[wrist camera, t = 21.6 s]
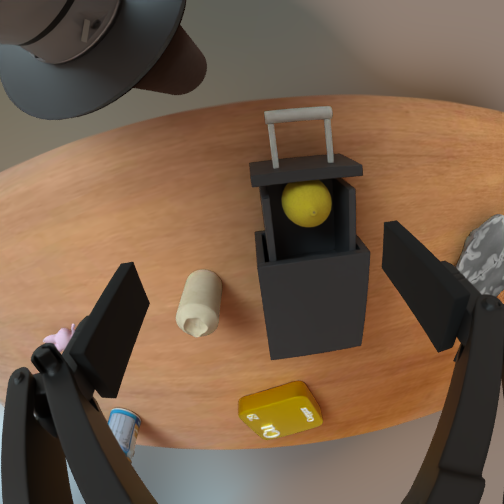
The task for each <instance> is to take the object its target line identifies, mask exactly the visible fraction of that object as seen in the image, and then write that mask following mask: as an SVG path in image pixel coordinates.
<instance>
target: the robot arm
mask: <svg viewBox="0 0 504 504" xmlns="http://www.w3.org/2000/svg"><path fill="white" fill-rule="evenodd" d="M121 5H122V0H0V44H7V45H17V46H21V47H22V48H23V49H24V50H26V51H28V52H29V53H30V54H31V55H32V56H33V57H34V58H35V59H37V60H39V61H42V62H45V63H50V64H64V63H68V62H72V61H74V60H76V59H78V58H80V57H82V56H84V55H85V54H87V53H88V52H90V51H91V50H92V49H93V48H95V47H96V46H97V45H98V44H99V43H100V42H101V41H102V40H103V39H104V37H105V36H106V35H107V34H108V32H109V31H110V29H111V28H112V26H113V25H114V23H115V21H116V19H117V17H118V15H119V12H120V9H121ZM382 269H383V270H384V272H385V273H386V275H387V276H388V277H389V279H390V280H391V282H392V283H393V284H394V286H395V287H396V289H397V290H398V292H399V293H400V294H401V296H402V297H403V299H404V300H405V302H406V303H407V305H408V306H409V308H410V309H411V311H412V312H413V314H414V315H415V317H416V318H417V320H418V321H419V323H420V324H421V326H422V328H423V329H424V331H425V332H426V334H427V335H428V337H429V339H430V340H431V342H432V343H433V345H434V347H435V348H436V350H437V352H441V351H444V350H447V349H450V348H452V347H453V345H454V342H455V340H456V337H457V338H458V339H459V341H460V342H461V344H460V346H459V349H458V351H457V354H456V356H455V358H454V361H455V362H456V363H455V367H454V371H453V375H452V379H451V383H450V387H449V390H448V394H447V397H446V401H445V404H444V407H443V410H442V413H441V416H440V419H439V422H438V425H437V428H436V431H435V434H434V436H433V439H432V441H431V444H430V447H429V449H428V452H427V454H426V456H425V459H424V461H423V463H422V466H421V468H420V470H419V473H418V475H417V477H416V479H415V481H414V483H413V485H412V487H411V489H410V491H409V492H408V494H407V496H406V497H405V498H404V500H403V501H402V503H401V504H479V503H480V500H481V497H482V495H483V492H484V488H485V479H484V478H483V477H482V471H483V467H484V464H485V460H486V457H487V453H488V449H489V445H490V441H491V436H492V432H493V428H494V423H495V418H496V412H497V406H498V400H499V393H500V385H501V379H502V387H503V396H504V304H503V303H502V302H501V301H500V300H499V299H498V298H497V297H495V296H492V295H489V294H483V295H482V294H481V293H480V292H479V291H478V290H477V289H476V288H475V287H474V286H473V285H472V283H471V282H470V281H469V280H468V279H467V278H465V276H464V275H463V274H462V273H460V271H459V270H458V269H457V268H456V267H455V266H454V265H452V264H450V263H448V262H446V261H441V262H440V261H439V260H438V259H437V258H436V257H435V256H434V255H433V254H432V253H431V252H430V251H429V250H428V249H427V248H426V247H425V246H424V245H423V244H422V243H421V242H420V241H419V240H418V239H416V238H415V237H414V236H413V235H412V234H411V233H410V232H409V231H408V230H407V229H406V228H405V227H403V226H402V225H401V224H400V223H399V222H398V221H390V222H384V238H383V257H382ZM149 304H150V303H149V300H148V298H147V295H146V293H145V291H144V288H143V286H142V283H141V281H140V278H139V276H138V273H137V270H136V268H135V265H134V263H133V262H129V263H123V264H120V266H119V268H118V269H117V271H116V272H115V274H114V275H113V277H112V279H111V280H110V282H109V283H108V285H107V287H106V288H105V290H104V292H103V293H102V295H101V296H100V298H99V300H98V301H97V303H96V305H95V307H94V308H93V310H92V312H91V313H90V315H89V316H86V317H85V318H84V319H83V320H82V321H81V322H80V323H79V325H78V326H77V328H76V330H75V332H74V333H73V335H72V338H71V339H70V341H69V342H68V344H67V346H66V348H65V350H64V352H63V353H62V355H61V353H60V352H59V351H58V349H57V348H56V346H55V345H54V344H53V343H45V344H43V345H41V346H40V347H38V348H37V349H36V350H35V351H34V352H33V354H32V356H31V362H32V363H33V364H34V366H35V367H36V368H37V370H38V371H39V372H40V373H37V374H33V375H32V374H31V372H30V371H29V370H28V368H26V367H21V368H19V369H17V370H15V371H14V372H13V373H12V375H11V376H10V379H9V382H8V388H7V395H6V402H5V410H4V420H3V432H2V452H1V474H2V475H1V476H2V477H1V478H2V498H3V504H73V499H72V494H71V489H70V483H69V478H68V471H67V465H66V459H67V462H68V464H69V467H70V469H71V472H72V474H73V476H74V479H75V481H76V483H77V486H78V488H79V490H80V492H81V494H82V497H83V498H84V501H85V503H86V504H158V503H157V502H156V500H155V499H154V497H153V496H152V495H151V493H150V492H149V490H148V489H147V488H146V486H145V485H144V483H143V482H142V480H141V479H140V477H139V476H138V474H137V473H136V471H135V470H134V468H133V467H132V465H131V463H130V462H129V460H128V458H127V457H126V455H125V453H124V452H123V450H122V448H121V447H120V445H119V443H118V441H117V440H116V438H115V436H114V434H113V432H112V430H111V429H110V427H109V425H108V423H107V421H106V419H105V417H104V415H103V413H102V411H101V409H100V407H99V405H98V403H97V401H96V399H95V398H94V397H93V393H94V391H95V390H96V391H97V392H98V393H99V395H100V396H101V397H102V398H117V395H118V391H119V388H120V385H121V382H122V379H123V376H124V373H125V370H126V367H127V364H128V361H129V358H130V356H131V353H132V350H133V347H134V344H135V342H136V339H137V336H138V333H139V331H140V328H141V325H142V323H143V320H144V317H145V315H146V312H147V309H148V307H149ZM34 414H35V416H34ZM503 504H504V494H503Z"/></svg>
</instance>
